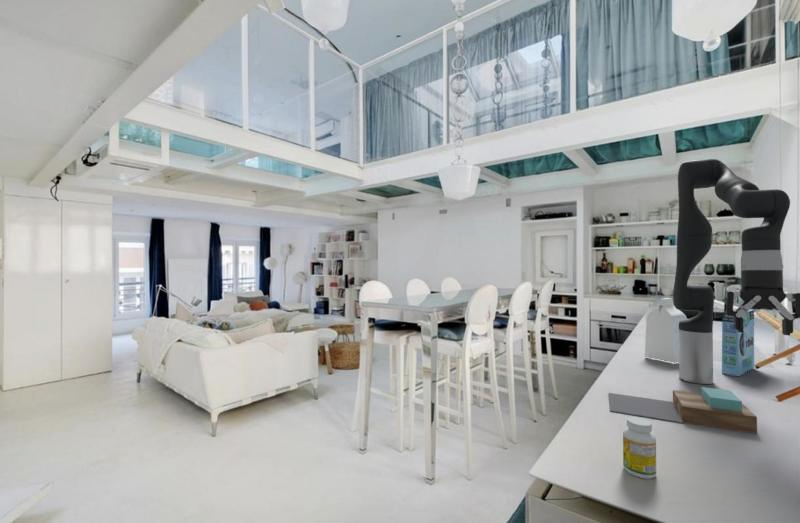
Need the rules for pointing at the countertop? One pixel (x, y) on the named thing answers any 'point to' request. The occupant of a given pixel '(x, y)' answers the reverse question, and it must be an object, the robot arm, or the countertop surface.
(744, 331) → the gum box
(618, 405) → the mat
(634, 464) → the supplement bottle
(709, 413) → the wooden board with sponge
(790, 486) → the countertop surface
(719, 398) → the teal foam pad
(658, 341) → the milk
